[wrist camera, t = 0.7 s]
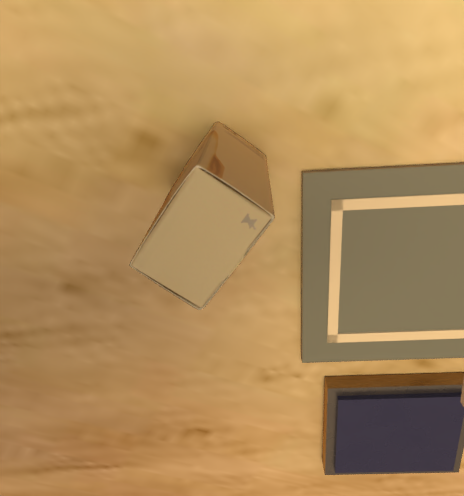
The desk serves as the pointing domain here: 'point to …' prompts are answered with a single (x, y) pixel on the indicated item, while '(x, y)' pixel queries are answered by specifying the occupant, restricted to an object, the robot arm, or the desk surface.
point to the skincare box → (208, 219)
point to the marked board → (383, 263)
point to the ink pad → (393, 423)
